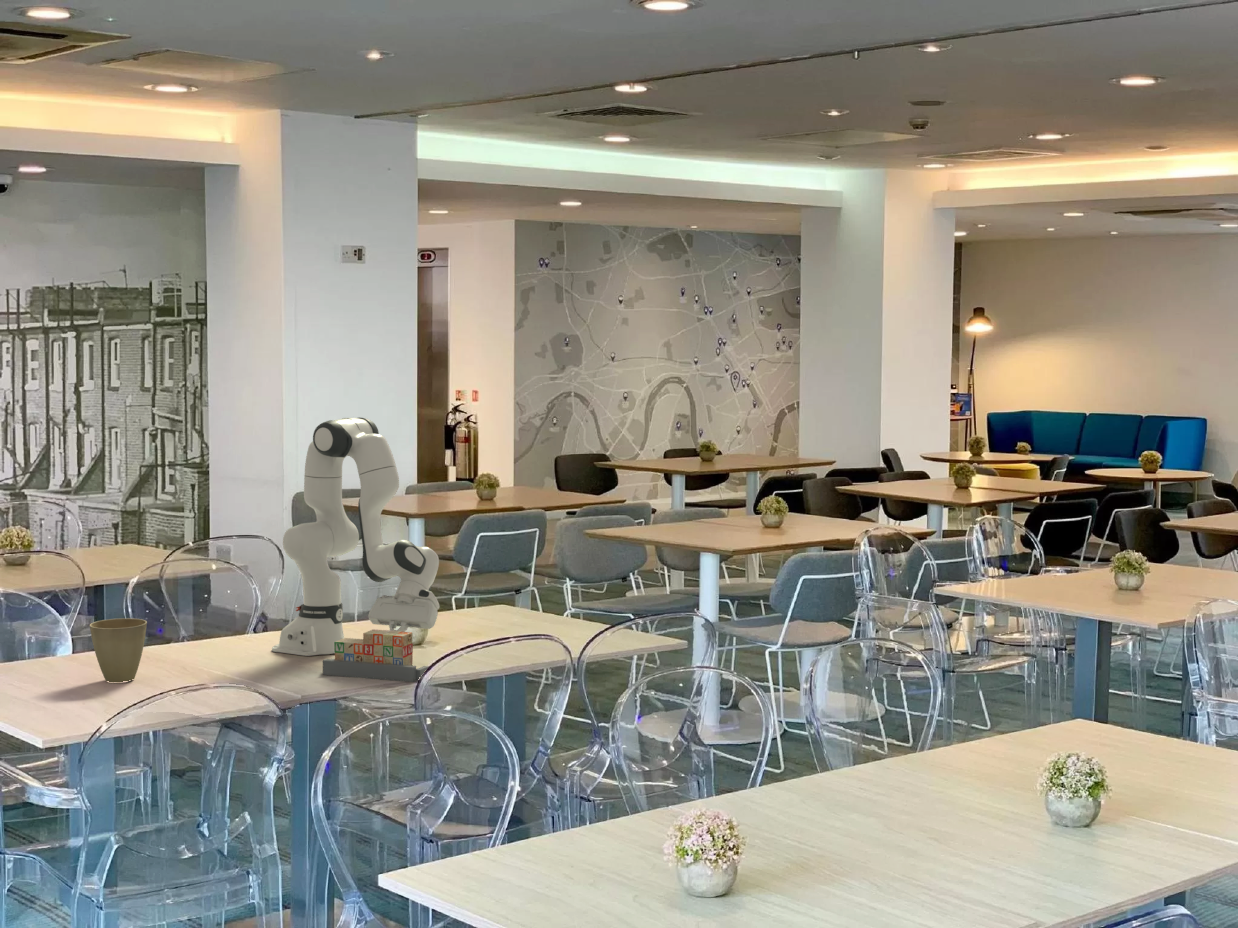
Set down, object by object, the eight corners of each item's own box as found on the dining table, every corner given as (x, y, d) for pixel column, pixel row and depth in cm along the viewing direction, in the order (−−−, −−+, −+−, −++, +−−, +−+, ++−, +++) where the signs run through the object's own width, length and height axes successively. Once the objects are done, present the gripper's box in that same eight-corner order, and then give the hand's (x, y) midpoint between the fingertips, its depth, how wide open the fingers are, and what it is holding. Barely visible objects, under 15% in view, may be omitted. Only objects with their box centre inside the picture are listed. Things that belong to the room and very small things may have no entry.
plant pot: (83, 679, 423) (81, 622, 422) (136, 672, 432) (135, 616, 431) (102, 689, 412) (100, 629, 410) (156, 681, 421) (155, 623, 419)
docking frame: (319, 674, 430) (318, 659, 430) (332, 669, 437) (331, 655, 436) (416, 682, 420) (416, 667, 419) (428, 677, 426) (428, 662, 426)
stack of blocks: (334, 674, 431) (333, 630, 430) (345, 669, 437) (344, 626, 436) (403, 679, 424) (402, 635, 423) (413, 675, 430) (413, 631, 429)
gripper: (374, 588, 448) (357, 627, 440) (437, 593, 441) (421, 633, 433) (382, 601, 453) (365, 640, 445) (444, 606, 446) (428, 645, 437)
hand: (393, 636), depth 439 cm, fingers closed
